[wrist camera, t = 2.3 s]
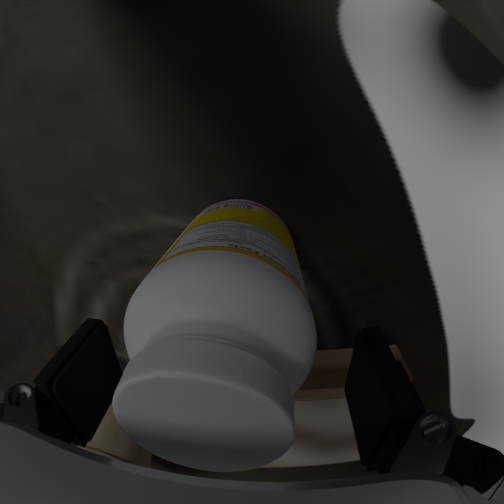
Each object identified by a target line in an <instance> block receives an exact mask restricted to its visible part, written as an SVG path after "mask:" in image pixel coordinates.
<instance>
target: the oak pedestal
mask: <svg viewBox="0 0 504 504" xmlns="http://www.w3.org/2000/svg"><path fill="white" fill-rule="evenodd" d="M389 347H390V349H391V351H392V353H393V355H394V357H395V359H396V360H399V361H401V363H402V364H403V366H404V368H405V370H406V372H407V374H408V376H409V378H410V380H411V382H412V380H413V377H412V375H411V373H410V371H409V369H408V367H407V365H406V363H405V361H404V359H403V357H402V355H401V353H400V351H399V350H398V348H397V346H396V344H394V345H389ZM352 353H353V348H349V349H334V350H316V356H315V360H314V363H313V366H312V369H311V371H310V373H309V375H308V377H307V378H306V380H305V381H304V383H303V384H302V385H301V387H300V388H299V389H298V390H297V391H296V392H295V393H294V394H293V396H294V417H295V438H294V441H293V443H292V445H291V447H290V448H289V449H288V451H287V452H286V453H285V454H284V455H282V456H281V457H280V458H278V459H277V460H275V461H273V462H271V463H269V464H267V465H264V466H261V467H259V468H278V467H304V466H317V465H328V464H337V463H345V462H352V461H359V460H360V456H359V451H358V447H357V442H356V438H355V434H354V429H353V425H352V421H351V417H350V412H349V408H348V404H347V400H346V396H345V382H346V378H347V374H348V370H349V366H350V362H351V357H352Z"/></svg>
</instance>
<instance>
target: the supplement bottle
mask: <svg viewBox="0 0 504 504" xmlns="http://www.w3.org/2000/svg"><path fill="white" fill-rule="evenodd" d="M124 339H125V345H126V349H127V352H128V355H129V358H130V361H129V363H128V365H127V366H126V369H125V371H124V373H123V375H122V377H121V379H120V382H119V384H118V386H117V388H116V390H115V393H114V396H113V403H112V406H113V412H114V415H115V417H116V420H117V422H118V423H119V425H120V426H121V428H122V429H123V430H124V431H125V433H126V434H127V435H128V436H129V437H130V438H131V439H132V440H134V441H135V442H136V443H137V444H139V445H140V446H141V447H143V448H144V449H146V450H147V451H149V452H151V453H153V454H154V455H156V456H158V457H160V458H162V459H165V460H168V461H171V462H173V463H176V464H179V465H183V466H186V467H190V468H195V469H200V470H206V471H215V472H233V471H244V470H250V469H254V468H259V467H261V466H264V465H267V464H269V463H271V462H273V461H275V460H277V459H278V458H280V457H281V456H282V455H284V454H285V453H286V452H287V451H288V449H289V448H290V447H291V445H292V443H293V441H294V438H295V417H294V396H293V394H294V393H295V392H296V391H297V390H298V389H299V388H300V387H301V385H302V384H303V383H304V381H305V380H306V378H307V377H308V375H309V373H310V371H311V369H312V366H313V363H314V360H315V356H316V349H317V332H316V327H315V322H314V318H313V314H312V310H311V306H310V303H309V299H308V296H307V292H306V288H305V284H304V280H303V277H302V273H301V269H300V266H299V262H298V258H297V255H296V251H295V248H294V244H293V241H292V238H291V235H290V233H289V231H288V229H287V227H286V225H285V224H284V222H283V221H282V220H281V219H280V218H279V217H278V216H277V215H276V214H275V213H274V212H273V211H271V210H270V209H268V208H267V207H265V206H263V205H261V204H259V203H256V202H253V201H249V200H242V199H233V200H226V201H222V202H218V203H216V204H213V205H211V206H209V207H208V208H206V209H205V210H203V211H202V212H201V213H200V214H199V215H198V216H197V217H196V218H195V219H194V220H193V221H192V222H191V223H190V224H189V225H188V227H187V228H186V229H185V230H184V231H183V233H182V234H181V235H180V236H179V237H178V239H177V240H176V241H175V242H174V243H173V245H172V246H171V247H170V248H169V249H168V251H167V252H166V253H165V254H164V256H163V257H162V258H161V259H160V261H159V262H158V263H157V264H156V265H155V267H154V268H153V269H152V270H151V272H150V273H149V274H148V275H147V276H146V278H145V279H144V280H143V281H142V283H141V284H140V285H139V286H138V288H137V289H136V291H135V292H134V294H133V296H132V298H131V300H130V302H129V304H128V307H127V310H126V314H125V320H124Z"/></svg>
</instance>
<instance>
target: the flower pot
mask: <svg viewBox="0 0 504 504" xmlns="http://www.w3.org/2000/svg"><path fill="white" fill-rule="evenodd" d="M76 447H79V448H82V449H84V450H87V451H90V452H93V453H96V454H99V455H102V456H105V457H108V458H112V459H115V460H119V461H122V462H126V463H130V464H133V465H137V466H141V467H146V468H150V466H151V458H152V453H151V452H149V451H147V450H146V449H144V448H143V447H141V446H140V445H139V444H137V443H136V442H135V441H134V440H132V439H131V438H130V437H129V436H128V435H127V434H126V433H125V431H124V430H123V429H122V428H121V426H120V425H119V423H118V422H117V420H116V417H115V415H114V412H113V406H112V404H111V405H110V406H109V408H108V410H107V412H106V414H105V416H104V418H103V420H102V421H101V423H100V425H99V427H98V429H97V431H96V433H95V435H94V437H93V439H92V440H91V441H90V442H88V443H87V445H86V447H85V448H84V447H81V446H79V445H78V446H76Z"/></svg>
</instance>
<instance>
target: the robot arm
mask: <svg viewBox="0 0 504 504" xmlns="http://www.w3.org/2000/svg"><path fill="white" fill-rule="evenodd" d="M122 375H123V373H122V370H121V367H120V364H119V362H118V359H117V356H116V353H115V350H114V347H113V344H112V341H111V337H110V334H109V331H108V327H107V325H106V324H104V322H103V321H102V320H99V319H91V318H89V319H87V320H86V321H85V322H84V323H83V324H82V325H81V326H80V327H79V329H78V330H77V331H76V332H75V333H74V334H73V335H72V336H71V337H70V338H69V340H68V341H67V342H66V343H65V344H64V345H63V346H62V347H61V349H60V350H59V351H58V352H57V353H56V354H55V356H54V357H53V358H52V359H51V360H50V361H49V362H48V364H47V365H46V366H45V367H44V368H43V370H42V371H41V372H40V373H39V374H38V376H37V377H36V378H35V379H34V380H33V381H34V383H35V385H36V387H35V388H33V387H32V386H31V385H30V384H28V383H18V384H15V385H13V386H12V387H10V388H9V389H8V390H7V392H6V394H5V397H4V403H1V404H0V504H504V455H503V454H502V453H501V452H500V451H498V450H496V449H494V448H491V447H489V446H486V445H483V444H480V443H478V442H475V441H472V440H470V439H467V438H465V437H462V436H460V435H457V426H456V423H455V421H454V420H453V419H452V418H451V417H450V416H449V415H447V414H445V413H443V412H439V411H430V412H427V413H426V411H425V409H424V407H423V405H422V402H421V400H420V398H419V396H418V394H417V392H416V390H415V388H414V386H413V384H412V382H411V380H410V378H409V376H408V374H407V372H406V370H405V368H404V366H403V364H402V363H401V361H399V360H396V359H395V357H394V355H393V353H392V351H391V349H390V347H389V345H388V343H387V341H386V340H385V338H384V336H383V334H382V332H381V330H380V328H379V327H366V328H362V330H361V332H357V334H356V339H355V343H354V348H353V353H352V357H351V362H350V366H349V370H348V374H347V378H346V382H345V396H346V400H347V404H348V408H349V412H350V417H351V421H352V425H353V429H354V434H355V438H356V442H357V447H358V451H359V456H360V461H361V464H362V465H366V467H367V471H368V472H370V471H375V470H377V471H378V474H376V475H368V476H359V477H351V478H342V479H333V480H320V481H302V482H246V481H231V480H219V479H210V478H201V477H194V476H187V475H181V474H175V473H170V472H164V471H159V470H155V469H150V468H146V467H141V466H137V465H133V464H130V463H126V462H122V461H119V460H115V459H112V458H108V457H105V456H102V455H99V454H96V453H93V452H90V451H87V450H84V449H82V448H79V447H76V446H74V445H71V442H73V443H74V444H76V445H79V446H81V447H84V448H85V447H86V445H87V443H88V442H90V441H91V440H92V439H93V437H94V435H95V433H96V431H97V429H98V427H99V425H100V423H101V421H102V420H103V418H104V416H105V414H106V412H107V410H108V408H109V406H110V405H111V403H112V401H113V396H114V393H115V390H116V388H117V386H118V384H119V382H120V379H121V377H122Z"/></svg>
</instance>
